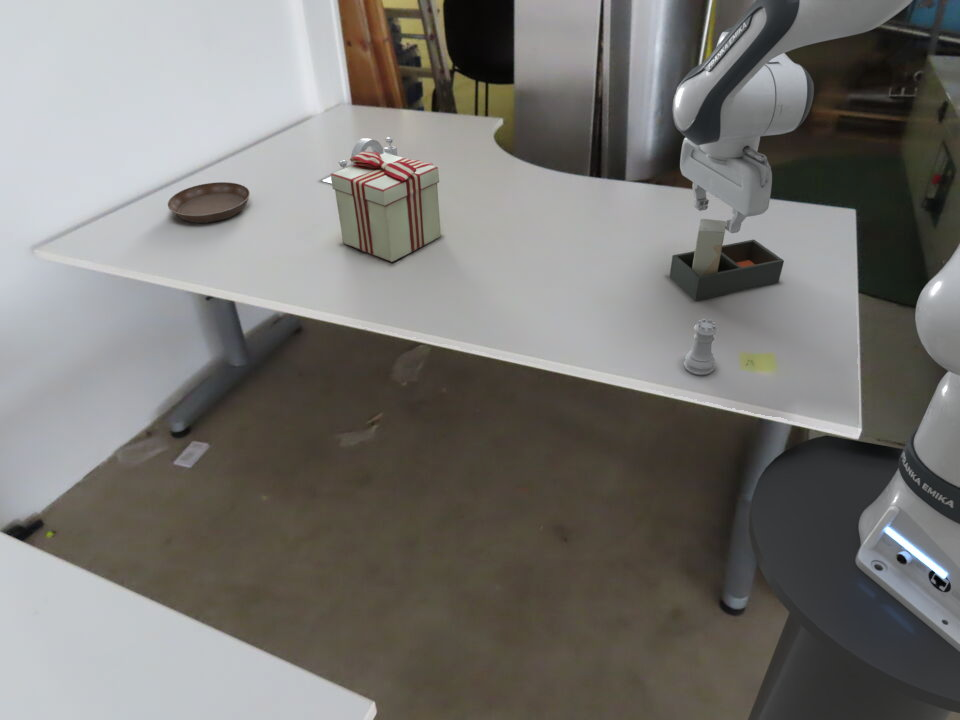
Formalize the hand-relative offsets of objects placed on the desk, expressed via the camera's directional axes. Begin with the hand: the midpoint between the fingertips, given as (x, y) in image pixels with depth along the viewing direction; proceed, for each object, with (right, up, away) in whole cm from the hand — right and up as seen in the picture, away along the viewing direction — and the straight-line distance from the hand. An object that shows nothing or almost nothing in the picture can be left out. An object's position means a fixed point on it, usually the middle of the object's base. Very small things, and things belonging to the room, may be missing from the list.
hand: (715, 219), depth 117 cm
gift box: (-57, +2, +27) cm, 63 cm away
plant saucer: (-100, +10, +42) cm, 109 cm away
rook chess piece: (-7, -25, -12) cm, 28 cm away
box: (0, -10, +7) cm, 12 cm away
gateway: (-66, +23, +56) cm, 90 cm away
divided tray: (+4, -9, +9) cm, 13 cm away
